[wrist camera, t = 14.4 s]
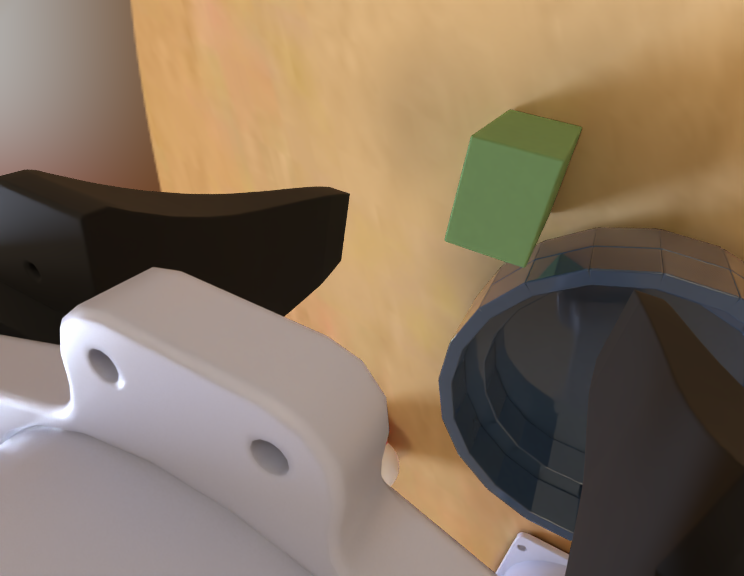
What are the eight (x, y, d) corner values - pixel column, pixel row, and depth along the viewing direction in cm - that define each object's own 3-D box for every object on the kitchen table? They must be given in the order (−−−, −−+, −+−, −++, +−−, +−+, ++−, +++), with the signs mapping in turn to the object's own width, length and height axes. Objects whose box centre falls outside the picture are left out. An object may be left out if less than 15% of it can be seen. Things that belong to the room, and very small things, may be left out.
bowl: (697, 520, 23) (709, 611, 19) (442, 404, 27) (412, 462, 23) (905, 296, 16) (983, 375, 12) (514, 181, 20) (488, 216, 16)
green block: (549, 215, 20) (524, 269, 15) (483, 195, 20) (443, 241, 16) (583, 126, 18) (565, 160, 13) (509, 108, 19) (470, 135, 14)
